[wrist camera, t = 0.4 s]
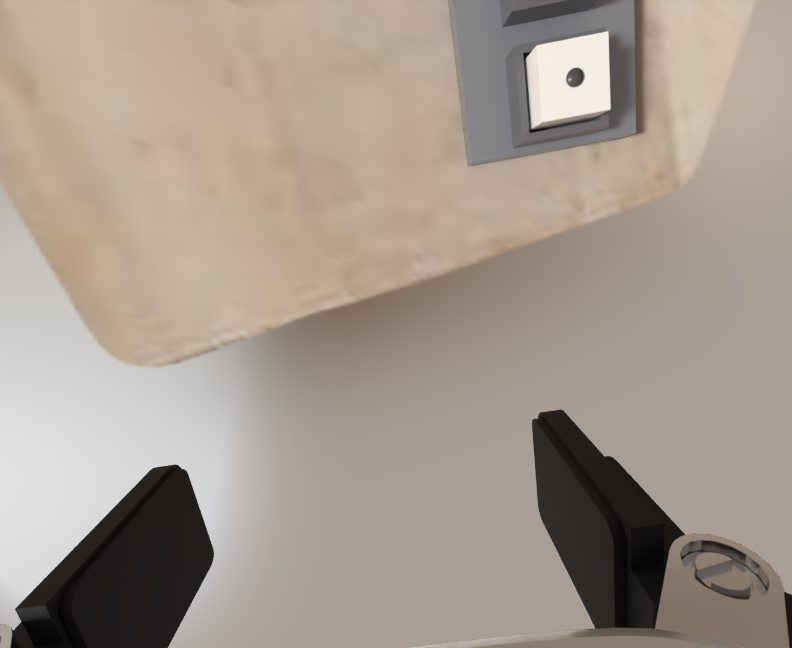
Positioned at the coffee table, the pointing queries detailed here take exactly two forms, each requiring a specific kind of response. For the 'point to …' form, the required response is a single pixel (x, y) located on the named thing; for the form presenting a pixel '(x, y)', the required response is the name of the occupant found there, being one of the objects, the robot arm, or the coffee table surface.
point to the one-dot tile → (568, 81)
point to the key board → (505, 77)
